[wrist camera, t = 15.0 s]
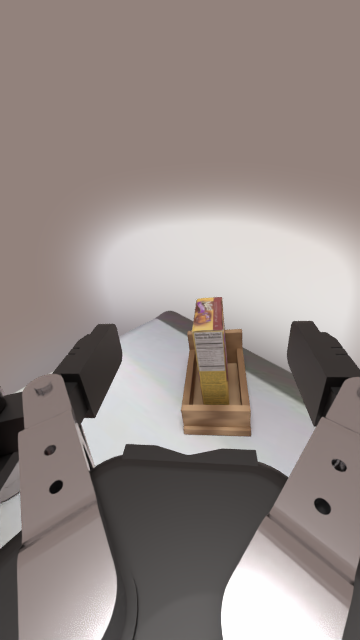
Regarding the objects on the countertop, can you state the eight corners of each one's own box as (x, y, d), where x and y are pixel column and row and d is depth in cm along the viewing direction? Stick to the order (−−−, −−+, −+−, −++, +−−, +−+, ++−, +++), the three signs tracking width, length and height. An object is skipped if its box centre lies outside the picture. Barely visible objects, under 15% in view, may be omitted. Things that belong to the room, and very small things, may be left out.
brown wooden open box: (184, 434, 38) (176, 396, 34) (192, 363, 51) (188, 329, 47) (250, 436, 36) (251, 396, 32) (241, 362, 49) (241, 327, 45)
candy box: (204, 370, 47) (196, 297, 39) (228, 370, 46) (224, 295, 38) (201, 411, 40) (191, 330, 32) (229, 411, 39) (226, 329, 31)
